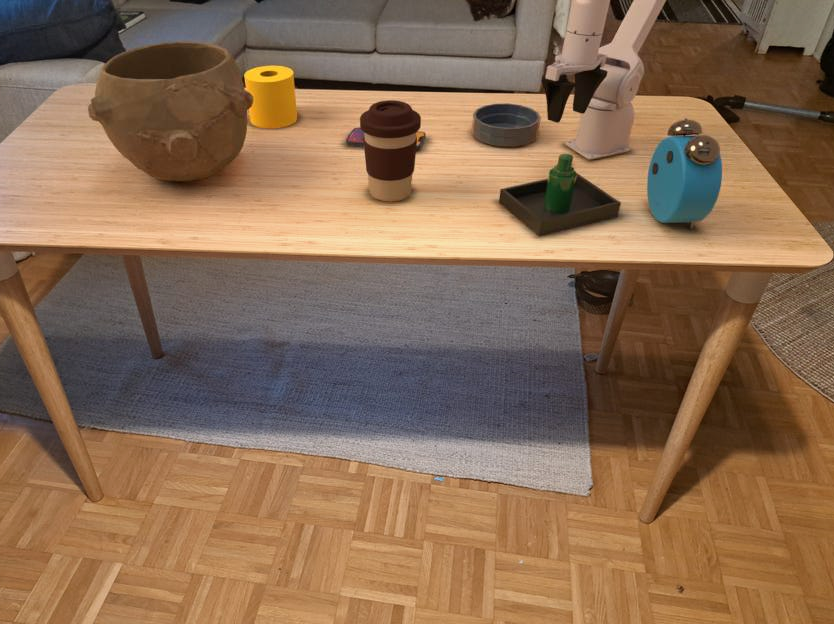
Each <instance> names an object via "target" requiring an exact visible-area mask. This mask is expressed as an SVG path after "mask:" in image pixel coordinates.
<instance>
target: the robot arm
mask: <svg viewBox="0 0 834 624" xmlns="http://www.w3.org/2000/svg"><path fill="white" fill-rule="evenodd" d="M666 1H667V0H633V1H632V3H631V4H630V6H629V9H628V10H627V12H626V14H625V16H624V18H623V20H622V22H621V23H620V26H619V28H618V30H617V32H616V33H615V35H614V37H613V39H612V41H610V43H607V44H604V45H602V46H601V43H602V38H603V33H604V29H605V24H606V20H607V15H608V11H609V8H610V2H611V0H571V4H570V10H569V15H568V19H567V25H566V30H565V35H564V40H563V46H562V51H561V54H558V55H556V56H555V58H554V62H553V63H552V64H550V65H548V66H547V67H546V73H545V74H543V75H542V76H541V84H542V86H543V90H544V94H545V100H546V113H547V120H548V121H550V122H553V123H560V122H561V121H562V118H563V116H564V113H565V108H566V106H567V102H568V100H569V97H570V95H571V93H572V92H573V90H574V94H573V100H572V111H573V112H576V113H579V114H580V116H579V120H578V121H579V122H578V126H577V131H576V136H575V137H576V138H575V139H574V140H570V141H566V142H564V144H565V146H567V147H568V148H569V149H570V150H573V151H574V152H576V153H577V154H579V155H581V156H582V157H584V158H585V159H587V160H589V161H592V160H597V159H600V158H606V157H610V156H614V155H619V154H623V153H624V154H625V153H628V152H630V151H631V149H630V148H629V147H628V145H629V143H630V142H629V141H630V137H631V133H632V129H633V126H634V125H633V124H634V120H635V108H634V106H633V103H632V102H633V100H634V99H635V97H636V95H637V93H638V91H639V87H640V84H641V81H642V79H643V77H644V75H645V66H644V63H643V61H642V59H641V58H640V56H639V51H641V48H642V46H643V45H644V42H645V41H646V39H647V37H648V35H649V33H650V32H651V30H652V28H653V26H654V24H655V22H656V21H657V18H658V16H659V15H660V13H661V10H662V9H663V7H664V6H665V3H666ZM600 46H601V47H600ZM571 75H574V82H573V81H571V80H569V78H568V76H571Z"/></svg>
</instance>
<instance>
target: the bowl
mask: <svg viewBox="0 0 834 624" xmlns="http://www.w3.org/2000/svg"><path fill="white" fill-rule="evenodd" d="M243 81H244V80H243V78H242V74H241V71H240V68H239V66H238V64H237V61H236V60H235V59H234V56H233V55H232V54H231V53H230V52H229V51H228V49H227V48H226V47H222V46H220V45H216V44H213V43H210V42H209V43H208V42H202V41H192V40H190V41H189V40H187V41H186V40H179V41H177V40H176V41H165V42H158V43H153V44H146V45H142V46H138V47H135V48H132V49H128V50H125V51H123V52H121V53H119V54H117V55H115V56H113V57H112V58H111V59H109V60H107V62H105V64H103V66H102V67H101V68H100V71H99V75H98V77H97V82H96V85H95V91H94V97H92V98H90V103H89V104H88V106H87V111H88V117H89V119H91V120H92V121H95V122H99V124H100V125H101V126H102V129H103V131H104V133H105V134H106V136H107V138H108V139H109V141H110V142H111V144H112V145H113V147H114V148H115V149H116V150H117V151H118V152H119V153H120V154H121V155H122V157H123V158H125V159H126V160H128V161H129V162H130V163H131V164H132V165H133V166H135V167H136V168H137V169H138V170H140V171H142V172H143V173H145V174H147V175H149V176H152V177H153V178H157V179H159V180H162V181H171V182H188V181H195V180H197V181H198V180H202V179H203V180H204V179H206V178H208V177H210V176H213V175H214V174H216V173H219V172H221V171H223V170H224V169H225V168H227V167H228V166H229V165H231V164H232V163H233V162H234V161H235V160H236V158H237V157H238V156H239V155H240V152H241V151H242V149H243V147H244V144H245V141H246V137H247V132H248V122H249V121H248V111H249V108H250V107H252V104H253V96H252V95H251V94H250V93H249V92H247V91H246V88H245V85H244V84H245V83H244V82H243Z"/></svg>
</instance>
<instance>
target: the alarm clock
mask: <svg viewBox="0 0 834 624" xmlns="http://www.w3.org/2000/svg"><path fill="white" fill-rule="evenodd" d="M722 180H723V161H722V156H721V145H720V143H719V141H718V140H717V139H716V138H714V137H713V136H711V135H708V134H703V126H702V125H701V124H700V123H699V122H698V121H697V120H694V119H688V118H687V117H684V118H683V119H679V120H678V121H675V122H674V123H672V124H671V125H670V126H669V128H668V130H667V137H664V138H663V139H662V140H661V141H660V142H659V143H658V145H657V146H656V147H655V150H654V151H653V153H652V156H651V160H650V163H649V166H648V171H647V181H646V182H647V183H646V191H647V192H646V193H647V195H646V196H647V201H648V206H649V210H650V213H651V215H652V216H653V218H654V219H655V220H656V221H657V222H659V223H662V224H671V223H672V224H673V223H689V228H690V229H693V227H694V224H695V223H696V222H697V223H698V222H701V221H703V220H705V219H706V218H707V217H708V216H709V215H710V214H711V212H713V209H714V207H715V205H716V203H717V200H718V198H719V196H720V191H721V187H722Z"/></svg>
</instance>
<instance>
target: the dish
mask: <svg viewBox="0 0 834 624" xmlns="http://www.w3.org/2000/svg"><path fill="white" fill-rule="evenodd" d="M541 119H542V117H541V115H540V113H539V112H538V111H537V110H535V109H533V108H531V107H528V106H525V105H522V104H516V103H510V102H509V103H506V102H505V103H492V104H486V105H483V106H481V107H478V108H476V109H475V111H473V113H472V121H471V134H472V136H473V137H474V138H475V139H476V140H478V141H479V142H482V143H484V144H487V145H491V146H495V147H504V148H509V147H510V148H511V147H512V148H513V147H520V146H523V145H524V146H525V145H528V144H530V143H533V142H534V141H536V140H537V138H538V136H539V132H540V125H541Z"/></svg>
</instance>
